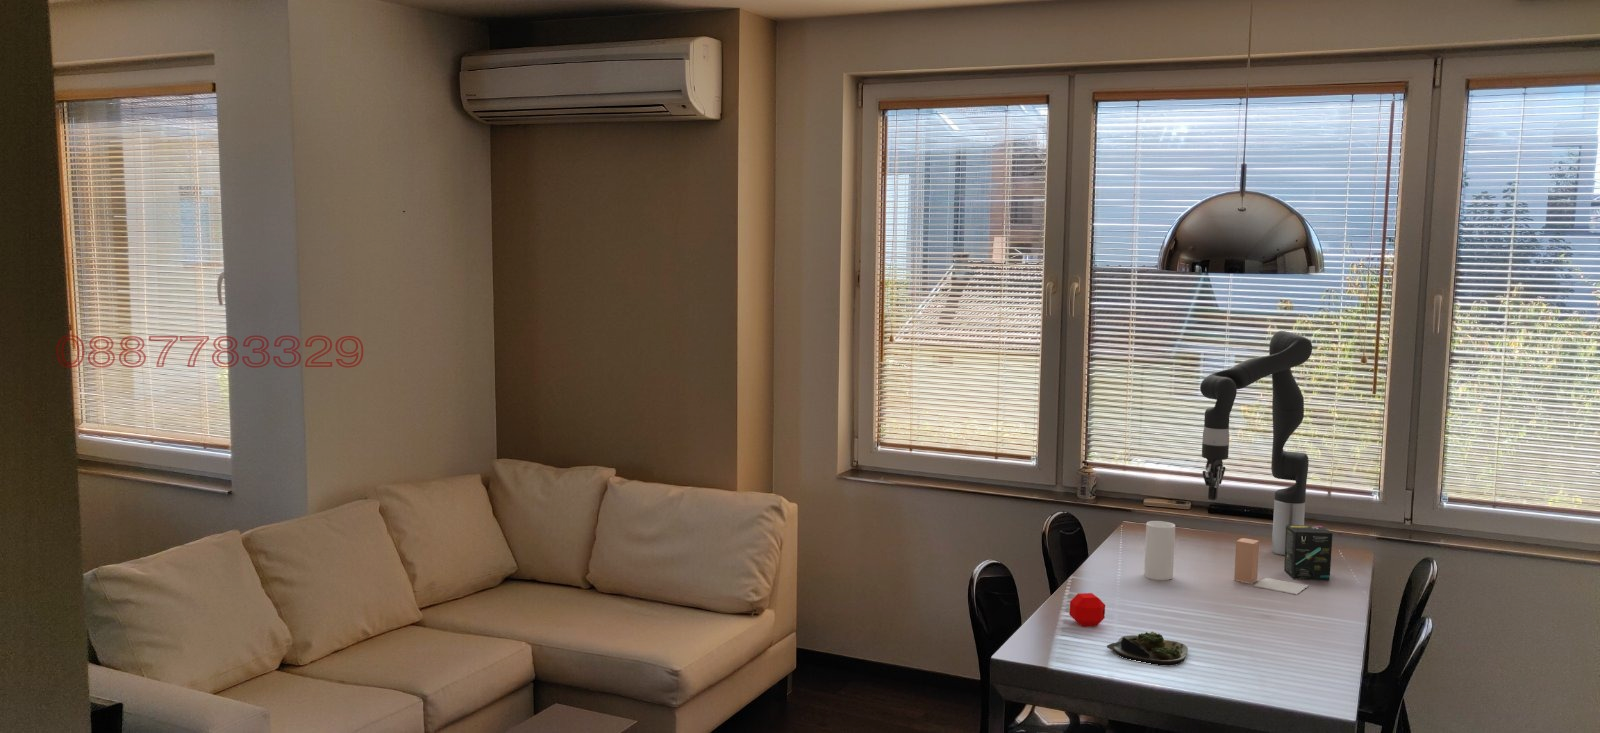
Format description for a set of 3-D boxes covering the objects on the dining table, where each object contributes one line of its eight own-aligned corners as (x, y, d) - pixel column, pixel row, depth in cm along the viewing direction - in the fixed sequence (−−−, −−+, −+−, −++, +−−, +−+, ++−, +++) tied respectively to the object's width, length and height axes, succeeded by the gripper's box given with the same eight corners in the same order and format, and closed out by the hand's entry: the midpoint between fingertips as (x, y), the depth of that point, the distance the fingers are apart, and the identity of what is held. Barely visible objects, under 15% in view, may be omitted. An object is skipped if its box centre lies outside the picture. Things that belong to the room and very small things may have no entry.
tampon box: (1319, 572, 347) (1322, 525, 346) (1330, 580, 338) (1333, 532, 337) (1282, 570, 348) (1285, 524, 347) (1292, 579, 339) (1295, 531, 338)
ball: (1107, 628, 291) (1109, 599, 290) (1078, 629, 290) (1079, 600, 289) (1094, 618, 299) (1095, 590, 298) (1066, 619, 298) (1067, 591, 297)
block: (1240, 577, 341) (1242, 537, 339) (1257, 580, 337) (1259, 540, 336) (1234, 580, 337) (1236, 540, 336) (1251, 583, 334) (1253, 543, 332)
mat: (1266, 578, 339) (1266, 577, 339) (1308, 586, 331) (1308, 585, 331) (1253, 586, 331) (1253, 585, 331) (1296, 594, 323) (1296, 593, 323)
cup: (1142, 578, 338) (1145, 525, 336) (1145, 571, 345) (1147, 519, 344) (1171, 581, 334) (1174, 528, 333) (1173, 574, 342) (1176, 522, 340)
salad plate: (1121, 634, 288) (1122, 616, 288) (1194, 646, 280) (1195, 628, 279) (1102, 657, 271) (1103, 638, 271) (1180, 671, 263) (1181, 652, 262)
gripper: (1220, 446, 333) (1217, 504, 334) (1235, 441, 343) (1232, 497, 344) (1194, 443, 337) (1192, 500, 339) (1211, 438, 348) (1208, 494, 349)
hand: (1212, 499), depth 342 cm, fingers closed
